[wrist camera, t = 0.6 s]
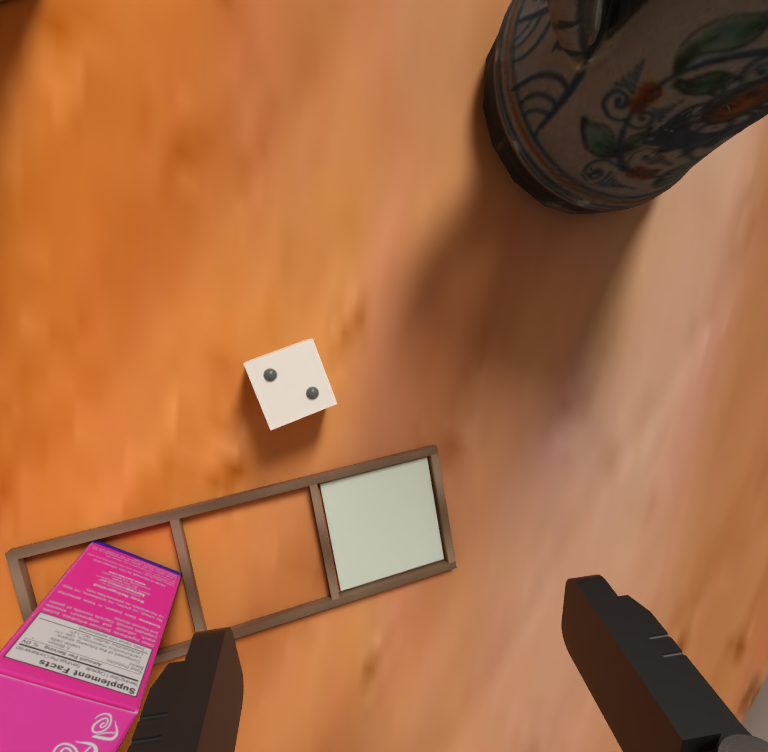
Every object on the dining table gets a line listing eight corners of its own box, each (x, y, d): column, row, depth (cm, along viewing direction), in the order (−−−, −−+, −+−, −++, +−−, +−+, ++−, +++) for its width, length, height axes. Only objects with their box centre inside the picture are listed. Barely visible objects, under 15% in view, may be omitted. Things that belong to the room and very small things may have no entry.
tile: (319, 483, 30) (320, 484, 30) (425, 456, 32) (427, 457, 32) (340, 589, 31) (340, 591, 31) (442, 557, 33) (443, 558, 32)
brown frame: (10, 549, 26) (5, 553, 25) (433, 444, 32) (436, 446, 31) (50, 692, 27) (45, 699, 26) (453, 563, 33) (456, 567, 32)
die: (246, 361, 28) (243, 363, 24) (306, 339, 29) (313, 338, 25) (269, 419, 29) (270, 431, 25) (327, 396, 30) (337, 404, 26)
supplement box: (139, 657, 28) (57, 861, 17) (41, 623, 26) (-122, 823, 15) (188, 572, 28) (139, 716, 17) (94, 534, 27) (-27, 666, 16)
